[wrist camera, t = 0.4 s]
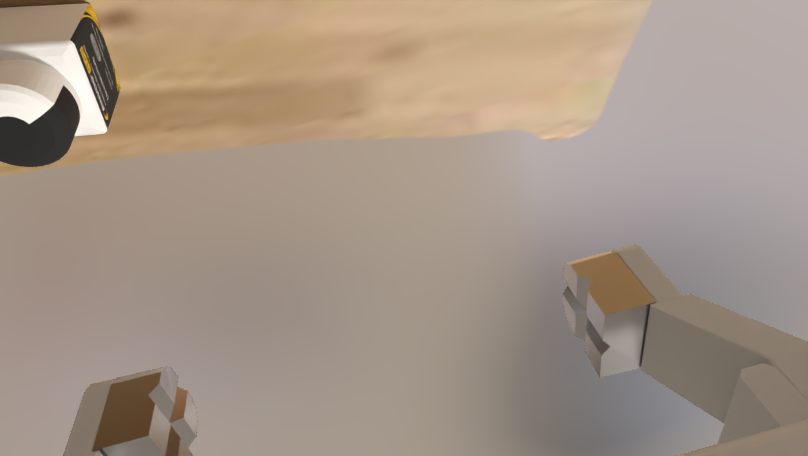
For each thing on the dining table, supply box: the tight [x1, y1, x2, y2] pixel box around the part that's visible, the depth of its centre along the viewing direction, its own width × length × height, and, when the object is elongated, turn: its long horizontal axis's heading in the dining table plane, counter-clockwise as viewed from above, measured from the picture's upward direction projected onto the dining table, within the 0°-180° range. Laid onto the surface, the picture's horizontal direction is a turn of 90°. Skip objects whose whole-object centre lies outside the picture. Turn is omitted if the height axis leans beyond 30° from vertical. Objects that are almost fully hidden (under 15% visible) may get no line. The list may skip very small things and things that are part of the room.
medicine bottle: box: [0, 3, 121, 167], centre depth 39 cm, size 7×7×12 cm
